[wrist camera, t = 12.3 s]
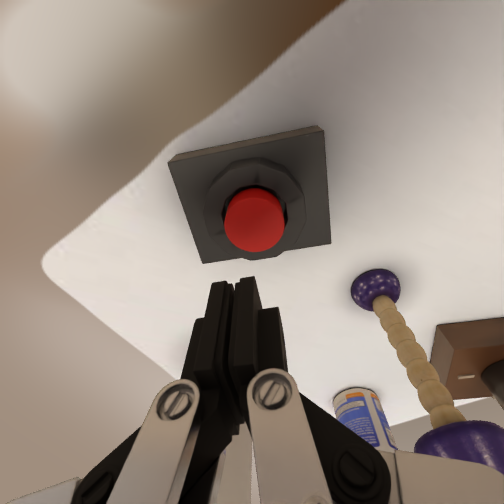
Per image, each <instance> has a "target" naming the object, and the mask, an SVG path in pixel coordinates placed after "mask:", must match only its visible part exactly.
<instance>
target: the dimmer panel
mask: <svg viewBox="0 0 504 504" xmlns="http://www.w3.org/2000/svg"><path fill="white" fill-rule="evenodd" d="M502 360H504V318H496V319H487V320H479V321H470V322H462V323H453V324H445V325H437V329H436V334H435V339H434V345H433V350H432V355H431V361H430V363H431V364H432V365H433V367H434V368H435V369H436V371H437V373H438V375H439V379H440V383H441V384H443V385H444V386H445V387H446V388H447V390H448V391H449V393H450V394H451V396H452V399H453V400H457V399H469V398H481V397H492V398H493V399H495V397H494V396H493V395H492V393H491V392H490V391H489V389H488V388H487V386H486V385H485V384H484V382H483V381H482V378H481V376H482V373H483V372H484V371H485V369H487V368H488V367H489V366H491V365H492V364H494V363H496V362H499V361H502Z"/></svg>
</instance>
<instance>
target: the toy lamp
mask: <svg viewBox="0 0 504 504" xmlns="http://www.w3.org/2000/svg"><path fill="white" fill-rule="evenodd" d="M400 290H401V289H400V283H399V280H398V278H397V277H396V276H395V275H394V274H393V273H392V272H390V271H387V270H383V269H378V270H372V271H369V272H367V273H364V274H363V275H361V276H359V277H358V278H357V279H356V280H355V282H354V283H353V285H352V289H351V296H352V298H353V300H354V301H355V303H356V304H357V305H358V306H360V307H361V308H363V309H365V310H368V311H373V312H375V314H376V315H377V316H378V317H379V318H380V323H381V326H382V328H383V329H384V330H385V331H386V332H387V333H388V339H389V342H390V343H391V345H392V346H393V347H394V348H395V349H396V350H397V356H398V358H399V360H400V362H401V363H402V365H403V366H404V367H405V368H407V375H408V378H409V380H410V382H411V383H412V385H413V386H414V387H415V388H416V389H418V397H419V400H420V402H421V404H422V406H423V407H424V409H425V410H426V411H427V412H428V413H429V414H430V420H431V424H432V426H433V430H431V431H429V432H427V433H426V434H424V435H423V436H421V437H420V438H419V439H418V441H417V442H416V444H415V447H414V453H419V454H426V455H432V456H438V457H444V458H450V459H456V460H462V461H468V462H475V463H480V464H483V465H486V466H489V467H492V468H494V469H495V470H497V471H499V472H500V473H502V474H503V475H504V429H503V428H502V427H500V426H499V425H496V424H495V423H491V422H488V421H481V420H480V421H477V420H472V421H470V420H469V421H466V419H465V418H464V416H463V415H462V414H461V412H460V411H459V410H458V409H456V408H455V407H454V402H453V399H452V396H451V394H450V393H449V391H448V390H447V388H446V387H445V386H444V385H443V384H441V383H440V379H439V375H438V373H437V371H436V369H435V368H434V367H433V365H432V364H431V363H429V362H428V361H427V356H426V353H425V351H424V349H423V348H422V347H421V346H420V345H419V344H418V343H417V342H416V339H415V336H414V334H413V332H412V331H411V329H410V328H409V327H407V326H406V323H405V320H404V318H403V316H402V315H401V314H400V313H399V312H398V311H397V308H396V305H395V303H396V302H397V300H398V299H399V296H400Z"/></svg>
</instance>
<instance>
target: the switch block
mask: <svg viewBox="0 0 504 504" xmlns="http://www.w3.org/2000/svg"><path fill="white" fill-rule="evenodd" d="M168 166H169V169H170V172H171V175H172V178H173V181H174V183H175V186H176V189H177V192H178V195H179V198H180V201H181V203H182V206H183V209H184V212H185V215H186V218H187V221H188V224H189V226H190V229H191V232H192V235H193V238H194V241H195V244H196V247H197V249H198V252H199V255H200V258H201V261H202V263H203V264H205V263H212V262H218V261H225V260H231V259H237V258H244V259H247V260H259V259H265V258H272V257H277V256H278V255H280V254H281V253H282V252H284V251H288V250H295V249H301V248H307V247H314V246H320V245H327V244H331V229H330V214H329V199H328V183H327V168H326V152H325V137H324V130H322V129H321V128H320V127H319V126H312V127H307V128H302V129H298V130H293V131H288V132H283V133H278V134H274V135H269V136H264V137H259V138H254V139H250V140H245V141H240V142H235V143H230V144H226V145H221V146H216V147H211V148H206V149H202V150H197V151H192V152H187V153H182V154H178V155H175V156H174V157H173V158H172V159H171V160H170V161H169V162H168ZM250 188H260V189H264V190H266V191H269V192H270V193H272V194H273V195H274V196H275V197H276V198H277V199H278V200H279V202H280V204H281V207H282V211H283V217H284V224H285V225H284V232H283V235H282V237H281V238H280V240H279V241H278V242H277V243H276V244H275V245H274V246H273V247H271V248H269V249H267V250H264V251H260V252H249V251H245V250H242V249H240V248H238V247H237V246H235V245H234V244H233V243H232V242H231V241H230V240H229V238H228V237H227V235H226V232H225V227H224V222H225V217H226V213H227V209H228V205H229V203H230V201H231V200H232V198H233V197H234V196H235V195H236V194H238V193H239V192H241V191H243V190H245V189H250Z"/></svg>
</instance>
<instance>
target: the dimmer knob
mask: <svg viewBox="0 0 504 504" xmlns="http://www.w3.org/2000/svg"><path fill="white" fill-rule="evenodd" d="M481 378H482V381H483V382H484V384H485V385H486V386H487V388H488V389H489V391H490V392H491V393H492V395H493V396H494V397H495V399H496V400H497V401H498V403H499V404H500V406H501V407H502V408H503V410H504V360H502V361H499V362H496V363H494V364H492V365H491V366H489V367H488V368H487V369H485V371H484V372H483V373H482V376H481Z"/></svg>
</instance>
